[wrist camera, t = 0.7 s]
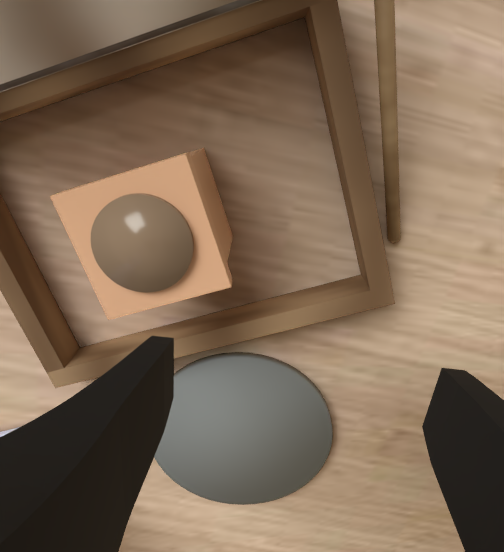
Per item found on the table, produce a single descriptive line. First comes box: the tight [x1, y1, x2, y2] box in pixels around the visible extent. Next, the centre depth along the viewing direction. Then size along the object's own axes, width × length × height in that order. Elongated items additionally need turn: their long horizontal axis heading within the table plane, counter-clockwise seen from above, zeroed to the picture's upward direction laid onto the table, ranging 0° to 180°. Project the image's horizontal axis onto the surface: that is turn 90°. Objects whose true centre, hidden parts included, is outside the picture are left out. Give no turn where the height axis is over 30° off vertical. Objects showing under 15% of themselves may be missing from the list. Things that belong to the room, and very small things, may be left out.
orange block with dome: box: [50, 148, 233, 320], centre depth 18 cm, size 5×5×6 cm
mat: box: [154, 352, 332, 505], centre depth 25 cm, size 11×11×1 cm
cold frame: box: [0, 0, 400, 388], centre depth 14 cm, size 19×19×13 cm
